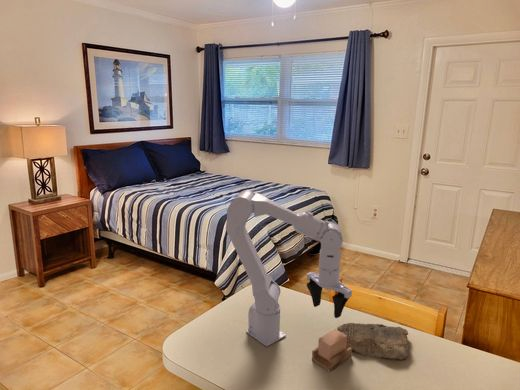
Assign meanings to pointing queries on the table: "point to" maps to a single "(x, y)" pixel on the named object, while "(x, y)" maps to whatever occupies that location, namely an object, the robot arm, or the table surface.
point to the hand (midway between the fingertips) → (326, 310)
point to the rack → (333, 362)
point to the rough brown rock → (376, 340)
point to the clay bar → (332, 344)
